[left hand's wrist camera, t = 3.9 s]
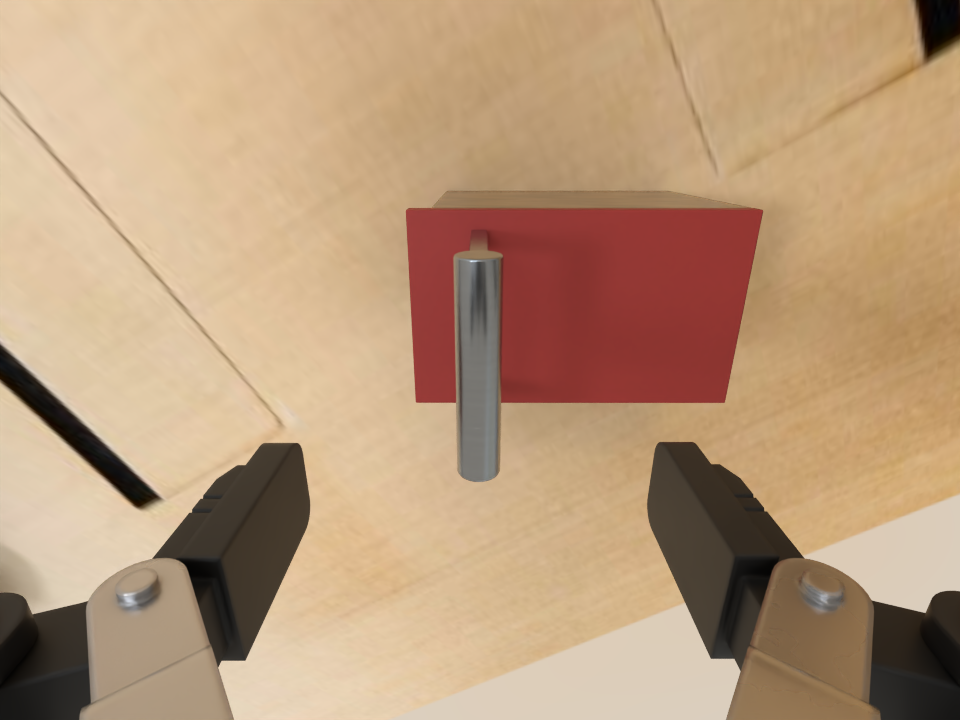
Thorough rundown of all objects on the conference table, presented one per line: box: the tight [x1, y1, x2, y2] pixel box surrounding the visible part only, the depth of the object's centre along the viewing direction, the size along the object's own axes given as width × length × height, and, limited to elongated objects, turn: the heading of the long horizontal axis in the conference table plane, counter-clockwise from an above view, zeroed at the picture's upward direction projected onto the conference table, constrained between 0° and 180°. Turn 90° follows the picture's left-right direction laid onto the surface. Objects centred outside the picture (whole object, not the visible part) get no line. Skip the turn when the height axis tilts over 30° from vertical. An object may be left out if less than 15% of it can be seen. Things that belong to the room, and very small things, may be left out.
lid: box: [406, 208, 763, 482], centre depth 20 cm, size 15×9×8 cm, turn 90°
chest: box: [432, 191, 749, 208], centre depth 29 cm, size 14×9×11 cm, turn 90°
